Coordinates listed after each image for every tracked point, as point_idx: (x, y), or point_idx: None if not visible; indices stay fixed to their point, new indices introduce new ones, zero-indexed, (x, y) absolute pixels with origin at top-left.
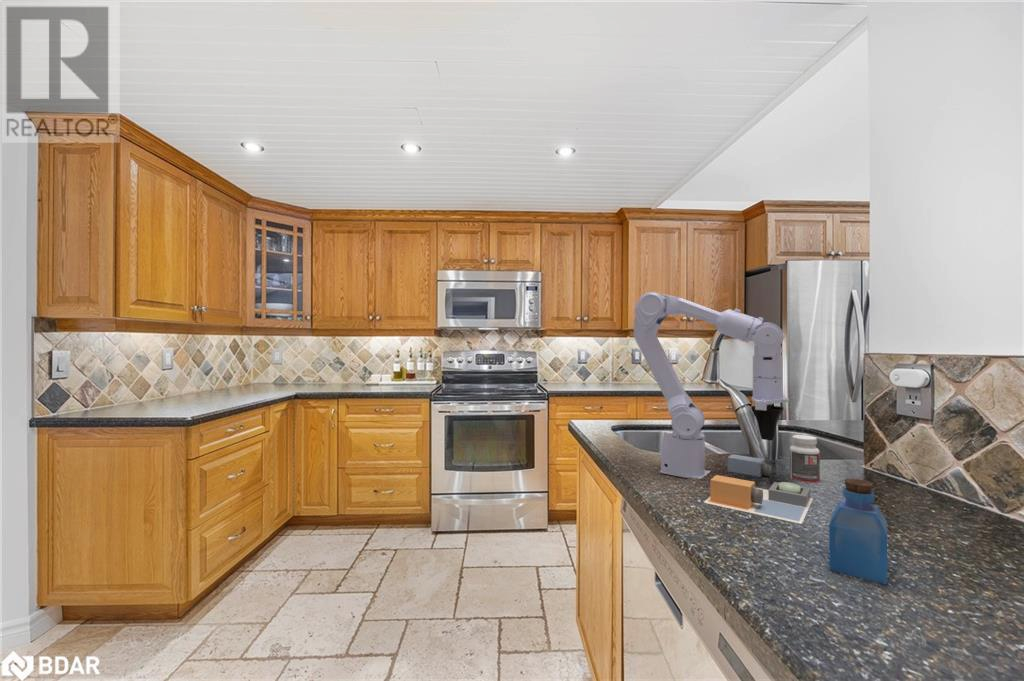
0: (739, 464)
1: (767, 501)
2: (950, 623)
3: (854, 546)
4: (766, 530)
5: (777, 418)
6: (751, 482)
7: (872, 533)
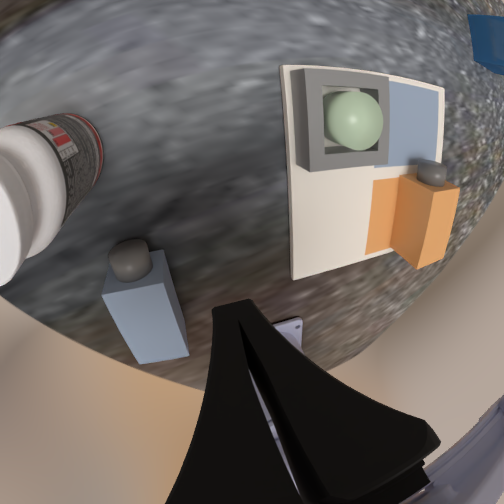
0: (179, 320)
1: None
2: (499, 14)
3: None
4: (463, 134)
5: (298, 419)
6: (439, 196)
7: None
